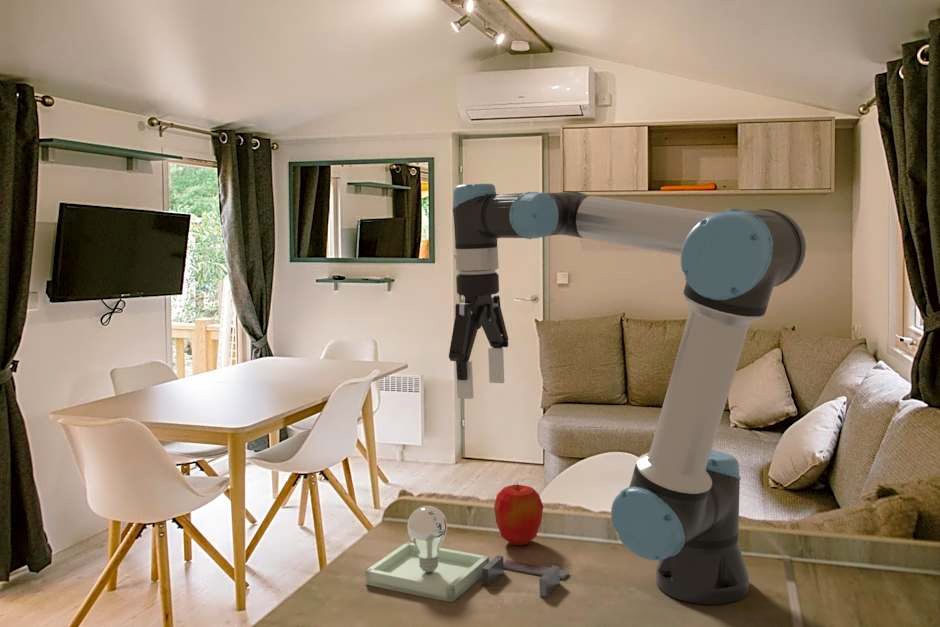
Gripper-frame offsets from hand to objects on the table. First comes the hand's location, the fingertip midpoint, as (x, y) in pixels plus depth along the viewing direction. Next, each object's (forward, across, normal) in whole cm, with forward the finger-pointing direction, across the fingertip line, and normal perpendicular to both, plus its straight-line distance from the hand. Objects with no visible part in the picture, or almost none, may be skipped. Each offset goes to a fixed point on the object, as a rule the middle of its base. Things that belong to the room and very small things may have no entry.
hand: (481, 390), depth 159 cm
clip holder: (+32, +6, +10) cm, 34 cm away
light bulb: (+31, +11, -6) cm, 33 cm away
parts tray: (+31, +11, -6) cm, 34 cm away
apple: (+32, -9, +2) cm, 33 cm away
